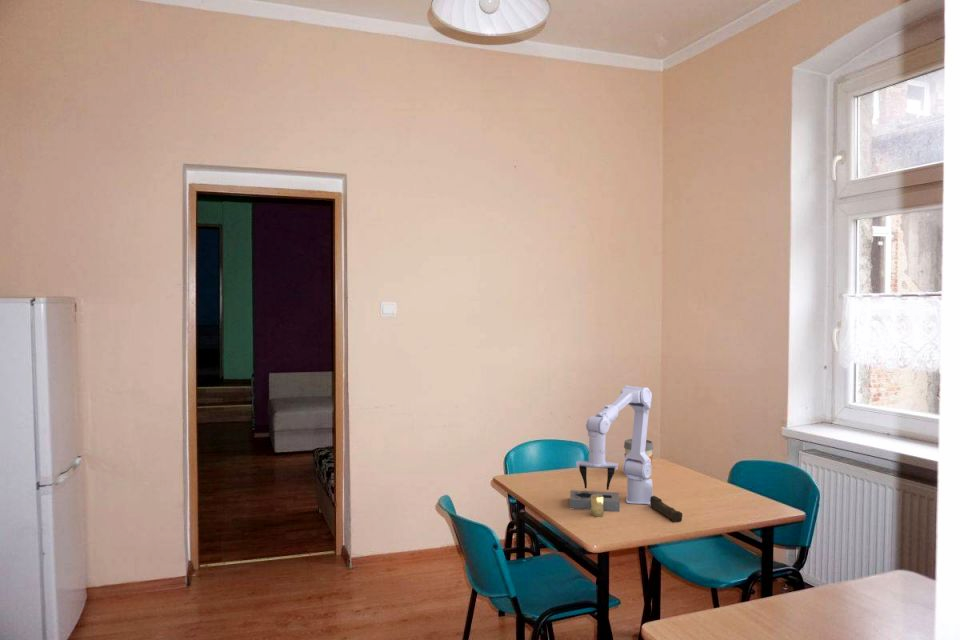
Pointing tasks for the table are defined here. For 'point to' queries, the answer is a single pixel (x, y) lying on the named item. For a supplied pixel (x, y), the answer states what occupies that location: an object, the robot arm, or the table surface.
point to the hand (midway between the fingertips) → (596, 488)
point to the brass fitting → (597, 505)
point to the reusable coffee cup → (647, 450)
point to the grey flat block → (584, 500)
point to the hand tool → (665, 509)
